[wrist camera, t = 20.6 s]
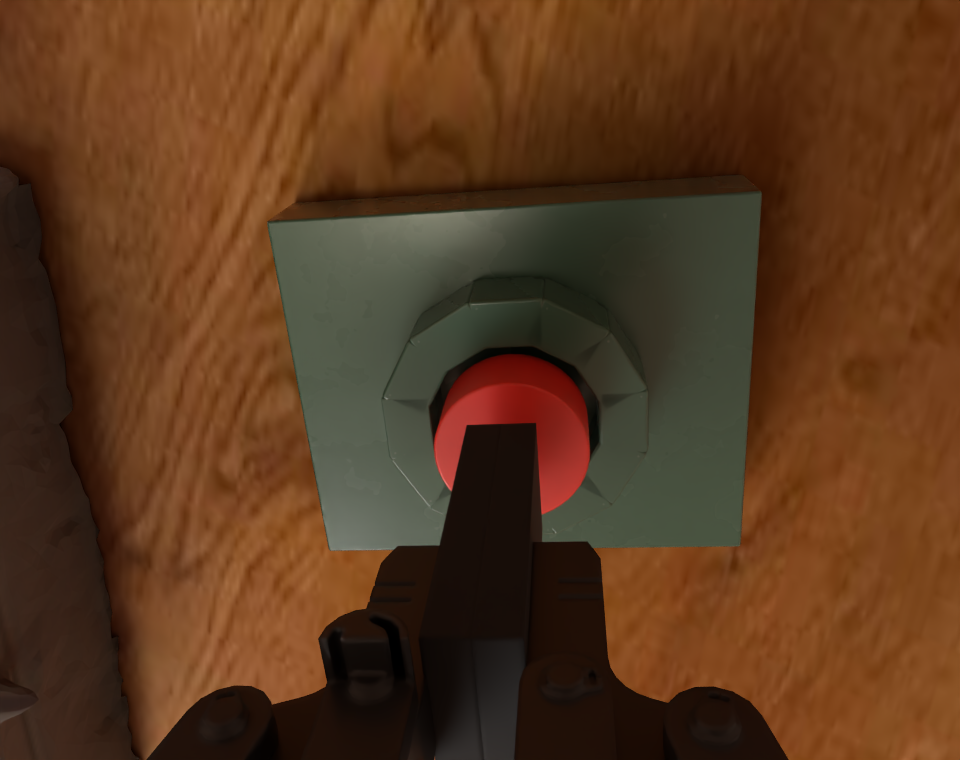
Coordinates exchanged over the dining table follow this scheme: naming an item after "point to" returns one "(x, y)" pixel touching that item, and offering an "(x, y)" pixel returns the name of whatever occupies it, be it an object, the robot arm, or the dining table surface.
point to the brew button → (520, 419)
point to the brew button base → (529, 347)
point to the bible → (46, 531)
